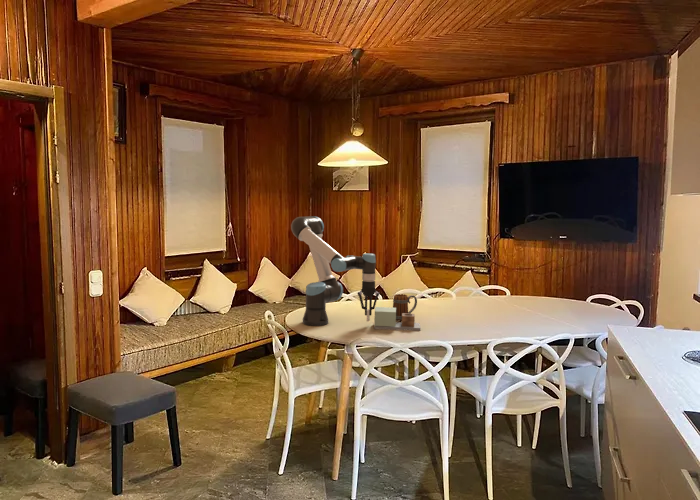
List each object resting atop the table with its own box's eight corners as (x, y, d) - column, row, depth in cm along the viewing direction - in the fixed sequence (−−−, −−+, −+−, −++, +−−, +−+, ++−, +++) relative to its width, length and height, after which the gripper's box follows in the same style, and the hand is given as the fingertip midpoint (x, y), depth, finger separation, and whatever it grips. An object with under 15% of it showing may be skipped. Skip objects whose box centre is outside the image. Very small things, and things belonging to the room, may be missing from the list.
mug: (394, 321, 330) (394, 297, 328) (389, 317, 340) (390, 293, 339) (418, 320, 333) (419, 296, 331) (413, 317, 343) (414, 293, 342)
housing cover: (374, 325, 312) (374, 311, 311) (375, 320, 324) (375, 306, 323) (395, 326, 311) (395, 312, 310) (395, 321, 322) (396, 307, 322)
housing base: (374, 328, 312) (374, 317, 311) (375, 323, 324) (375, 312, 323) (420, 330, 310) (420, 319, 309) (419, 325, 321) (420, 314, 321)
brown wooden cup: (401, 326, 313) (402, 315, 312) (401, 323, 320) (402, 313, 319) (414, 326, 312) (414, 316, 311) (413, 323, 319) (414, 313, 318)
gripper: (356, 281, 312) (356, 322, 315) (379, 281, 311) (379, 322, 313) (357, 279, 320) (357, 319, 322) (380, 279, 318) (379, 319, 321)
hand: (368, 320), depth 318 cm, fingers closed
